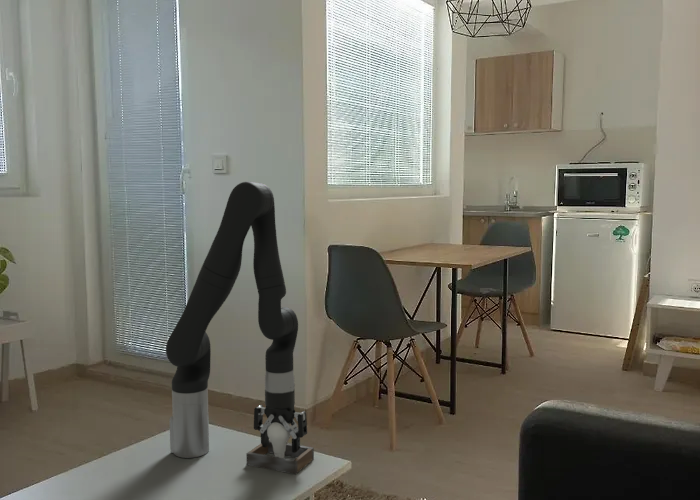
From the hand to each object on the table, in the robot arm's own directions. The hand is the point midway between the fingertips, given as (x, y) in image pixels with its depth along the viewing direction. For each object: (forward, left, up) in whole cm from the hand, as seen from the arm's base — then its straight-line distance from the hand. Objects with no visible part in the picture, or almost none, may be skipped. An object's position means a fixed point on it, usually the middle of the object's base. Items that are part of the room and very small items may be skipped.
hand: (280, 449), depth 174 cm
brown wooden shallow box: (0, 0, -3) cm, 3 cm away
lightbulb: (0, 0, -4) cm, 4 cm away
